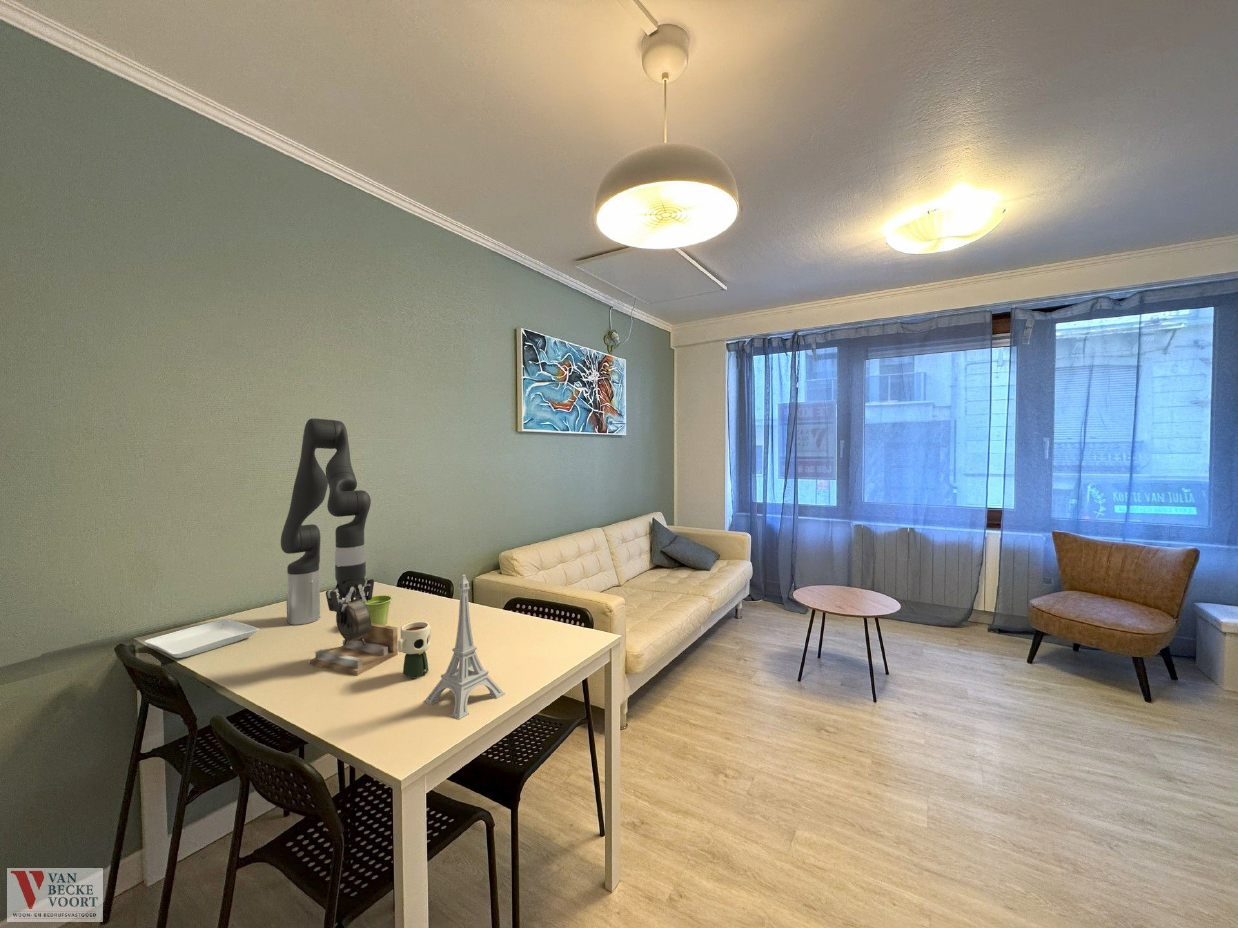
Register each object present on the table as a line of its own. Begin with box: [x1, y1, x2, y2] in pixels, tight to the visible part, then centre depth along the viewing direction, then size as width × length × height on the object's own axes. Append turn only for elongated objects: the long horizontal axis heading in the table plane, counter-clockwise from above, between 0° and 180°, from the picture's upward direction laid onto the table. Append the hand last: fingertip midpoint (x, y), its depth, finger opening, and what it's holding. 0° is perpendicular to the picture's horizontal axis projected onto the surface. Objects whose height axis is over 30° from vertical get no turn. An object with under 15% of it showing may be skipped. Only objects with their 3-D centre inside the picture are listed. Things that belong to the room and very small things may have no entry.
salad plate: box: [143, 618, 259, 659], centre depth 146 cm, size 21×21×3 cm
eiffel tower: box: [423, 574, 506, 720], centre depth 114 cm, size 13×13×30 cm
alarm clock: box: [335, 588, 371, 645], centre depth 134 cm, size 11×5×16 cm, turn 58°
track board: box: [309, 623, 399, 676], centre depth 135 cm, size 18×14×8 cm
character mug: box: [398, 621, 432, 679], centre depth 126 cm, size 11×7×13 cm, turn 157°
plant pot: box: [366, 594, 393, 625], centre depth 161 cm, size 9×9×9 cm
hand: (351, 620), depth 134 cm, fingers closed on alarm clock, 5 cm apart
